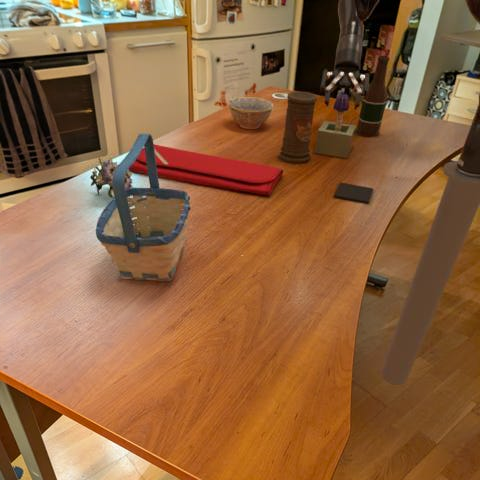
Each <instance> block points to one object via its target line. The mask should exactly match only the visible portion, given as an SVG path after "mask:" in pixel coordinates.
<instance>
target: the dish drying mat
mask: <svg viewBox="0 0 480 480" xmlns="http://www.w3.org/2000/svg"><path fill="white" fill-rule="evenodd" d="M154 150H155V158H156V166H157V174H158V177H161V178H165V179H166V178H167V179H171V180H175V181H176V180H178V181H183V182H188V183H192V184H198V185H205V186H209V187H210V186H211V187H216V188H221V189H228V190H234V191H238V192H239V191H240V192H245V193H251V194H257V195H262V196H271V194H272V192H273V190H274V188H275V186H276V185H277V184H278V182H279V181H280V179H281V177H282V176H283V174H284V169H282V168H278V167H275V166H272V165H268V164H264V163H263V164H262V163H256V162H250V161H245V160H239V159H234V158H228V157H227V158H226V157H222V156H216V155H212V154H211V155H210V154H207V153H200V152H195V151H189V150H184V149H178V148H174V147H169V146H164V145H159V144H156V143H154ZM128 172H133V173H139V174H145V175H148V170H147V163H146V156H145V149H144V147H143V149H142V151H141V153H140V155H139V156H138V158H137V159H136V160H135V162H134V163H133V164H132V165H131V167H130V168H129V169H128Z"/></svg>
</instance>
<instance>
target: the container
mask: <svg viewBox="0 0 480 480" xmlns="http://www.w3.org/2000/svg"><path fill="white" fill-rule="evenodd" d="M317 99H318V97H317V95H316V94H314V93H312V92H309V91H291V92H288V93H287V107H286V114H285V122H284V130H283V131H284V132H283V138H282V146H281V147H280V152H279V158H280V159H281V160H283V161H285V162H287V163H294V164H302V163H307V162H308V161H309V159H310V157H311V156H310V152H311V150H310V144H311V136H312V129H313V121H314V114H315V105H316V102H317Z"/></svg>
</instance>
